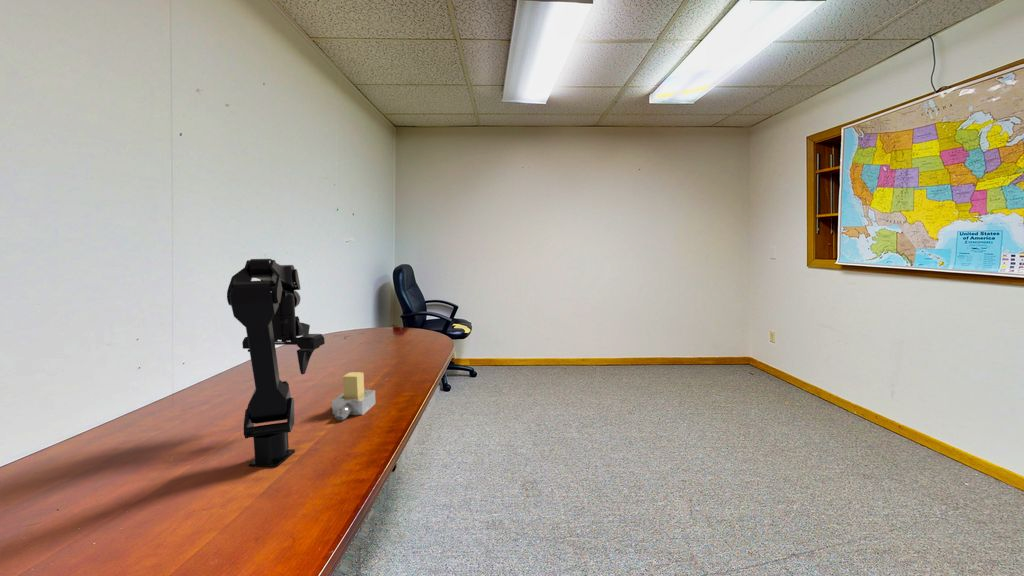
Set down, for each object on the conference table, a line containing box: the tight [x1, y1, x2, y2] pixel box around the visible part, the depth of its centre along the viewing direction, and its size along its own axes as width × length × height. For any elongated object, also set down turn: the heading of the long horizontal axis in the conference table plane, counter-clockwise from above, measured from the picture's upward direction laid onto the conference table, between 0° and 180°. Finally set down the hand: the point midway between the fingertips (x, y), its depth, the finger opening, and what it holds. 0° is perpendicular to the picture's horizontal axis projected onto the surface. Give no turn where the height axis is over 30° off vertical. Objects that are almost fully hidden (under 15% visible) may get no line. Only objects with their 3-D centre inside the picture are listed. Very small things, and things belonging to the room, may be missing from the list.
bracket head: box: [331, 388, 377, 422], centre depth 114 cm, size 16×8×4 cm, turn 176°
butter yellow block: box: [342, 371, 365, 399], centre depth 114 cm, size 4×4×10 cm
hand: (286, 373), depth 104 cm, fingers open, 9 cm apart
